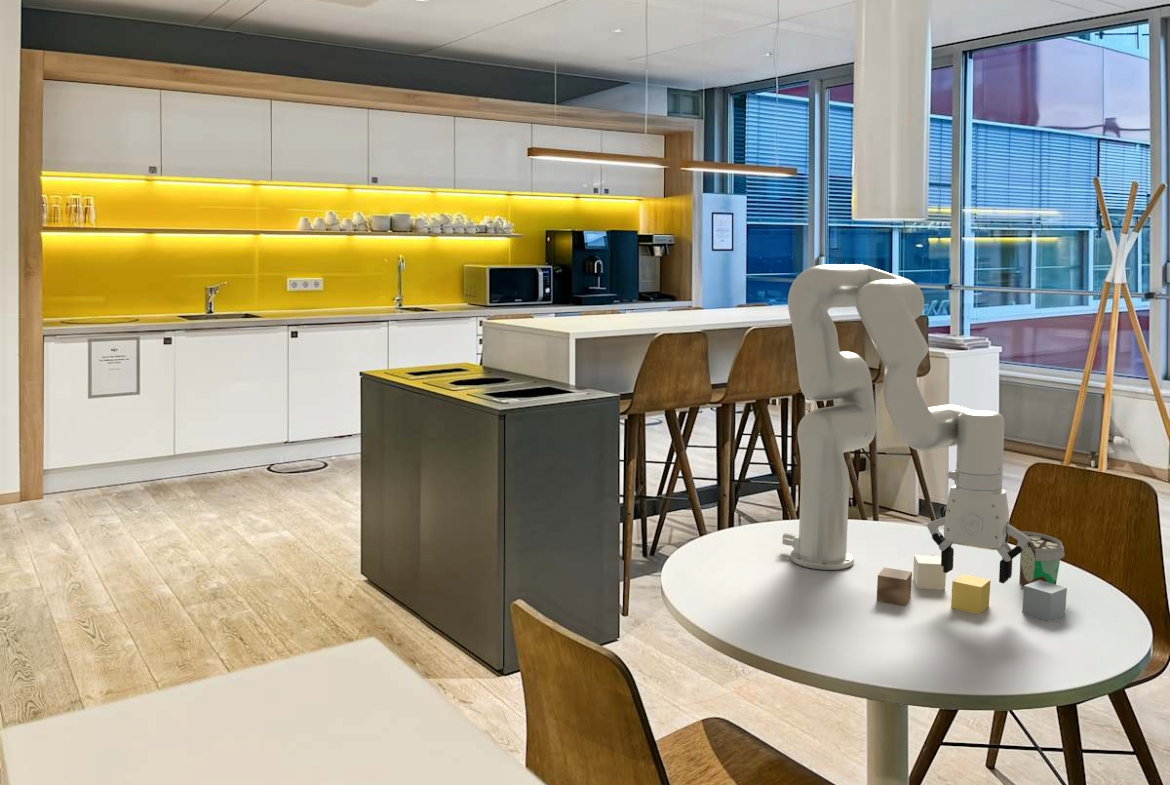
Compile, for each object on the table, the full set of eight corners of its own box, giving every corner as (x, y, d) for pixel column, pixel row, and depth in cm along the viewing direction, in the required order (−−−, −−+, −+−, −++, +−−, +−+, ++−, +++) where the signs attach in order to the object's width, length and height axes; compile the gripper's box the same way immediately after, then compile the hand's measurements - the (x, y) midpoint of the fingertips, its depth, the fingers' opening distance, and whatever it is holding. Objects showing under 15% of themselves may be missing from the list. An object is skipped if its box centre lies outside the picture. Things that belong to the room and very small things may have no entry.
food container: (1069, 605, 176) (1073, 551, 174) (1032, 603, 177) (1036, 549, 176) (1051, 583, 188) (1055, 532, 186) (1017, 580, 189) (1020, 530, 188)
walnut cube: (876, 601, 178) (877, 575, 177) (882, 593, 182) (884, 567, 182) (904, 606, 176) (906, 579, 175) (910, 598, 180) (912, 571, 179)
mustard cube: (950, 608, 175) (952, 581, 174) (960, 600, 179) (962, 573, 178) (979, 614, 172) (981, 587, 171) (988, 606, 176) (990, 579, 175)
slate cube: (1022, 612, 173) (1023, 585, 172) (1037, 606, 176) (1039, 579, 175) (1049, 621, 169) (1051, 593, 168) (1064, 615, 172) (1066, 587, 171)
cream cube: (917, 588, 185) (918, 563, 184) (912, 579, 190) (914, 554, 189) (945, 590, 184) (946, 564, 183) (939, 581, 189) (941, 556, 188)
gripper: (921, 478, 174) (919, 572, 176) (1024, 491, 163) (1020, 591, 166) (937, 471, 180) (934, 562, 182) (1037, 483, 169) (1033, 579, 171)
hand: (975, 576), depth 174 cm, fingers open, 9 cm apart
